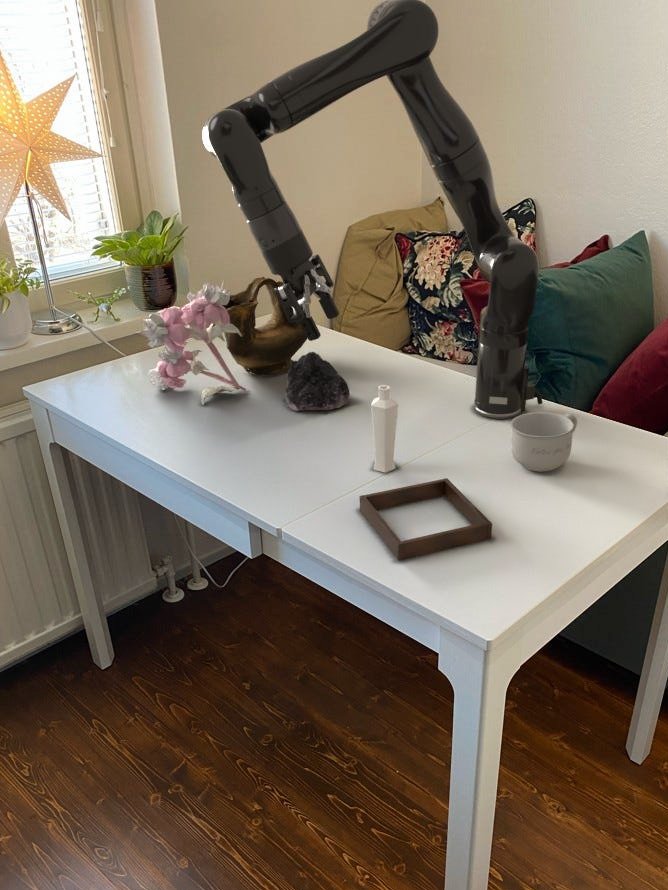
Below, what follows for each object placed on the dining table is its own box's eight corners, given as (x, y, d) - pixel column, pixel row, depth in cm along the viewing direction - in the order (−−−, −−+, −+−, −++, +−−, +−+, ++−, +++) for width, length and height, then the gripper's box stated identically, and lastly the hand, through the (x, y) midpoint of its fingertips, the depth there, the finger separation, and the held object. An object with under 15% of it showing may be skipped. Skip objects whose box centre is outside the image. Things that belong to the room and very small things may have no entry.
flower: (232, 354, 196) (170, 259, 180) (286, 374, 180) (223, 271, 164) (165, 412, 190) (95, 319, 174) (215, 438, 174) (142, 338, 158)
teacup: (531, 483, 149) (535, 441, 145) (495, 457, 158) (499, 416, 153) (595, 466, 155) (602, 424, 151) (558, 441, 163) (563, 402, 159)
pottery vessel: (239, 391, 182) (230, 296, 172) (207, 377, 189) (196, 285, 178) (325, 358, 198) (322, 270, 187) (293, 347, 204) (288, 261, 194)
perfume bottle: (394, 474, 152) (395, 394, 144) (370, 472, 153) (369, 391, 145) (400, 462, 156) (400, 383, 148) (375, 460, 156) (375, 381, 148)
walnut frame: (446, 492, 147) (447, 477, 145) (491, 538, 135) (492, 523, 133) (359, 510, 142) (359, 495, 140) (398, 560, 129) (398, 544, 128)
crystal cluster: (333, 422, 171) (337, 373, 166) (270, 407, 174) (272, 359, 169) (357, 401, 183) (361, 355, 178) (297, 387, 186) (300, 341, 181)
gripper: (280, 246, 134) (327, 340, 141) (315, 214, 144) (357, 304, 152) (242, 261, 137) (290, 352, 145) (279, 229, 148) (322, 316, 155)
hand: (325, 327), depth 148 cm, fingers open, 8 cm apart
